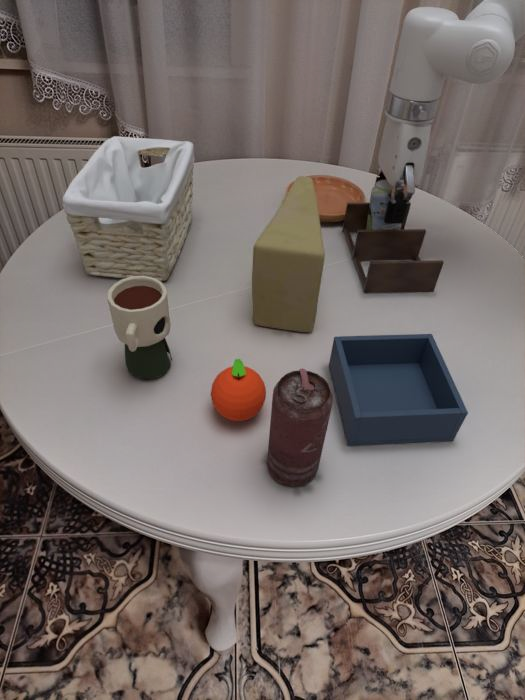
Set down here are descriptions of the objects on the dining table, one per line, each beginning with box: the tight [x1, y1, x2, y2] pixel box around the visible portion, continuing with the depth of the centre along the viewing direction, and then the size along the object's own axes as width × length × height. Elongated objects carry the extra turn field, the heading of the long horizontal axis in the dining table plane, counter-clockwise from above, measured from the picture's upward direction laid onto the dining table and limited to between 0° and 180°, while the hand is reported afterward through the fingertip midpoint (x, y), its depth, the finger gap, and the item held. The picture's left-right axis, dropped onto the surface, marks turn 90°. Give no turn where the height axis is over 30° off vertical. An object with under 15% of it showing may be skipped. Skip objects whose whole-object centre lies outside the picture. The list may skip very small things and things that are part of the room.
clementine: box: [210, 358, 267, 422], centre depth 64 cm, size 8×7×7 cm
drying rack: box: [341, 201, 445, 294], centre depth 89 cm, size 12×19×6 cm, turn 5°
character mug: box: [107, 276, 173, 379], centre depth 66 cm, size 11×7×13 cm, turn 177°
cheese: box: [251, 175, 326, 333], centre depth 80 cm, size 22×10×15 cm, turn 170°
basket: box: [62, 135, 195, 282], centre depth 87 cm, size 24×16×15 cm
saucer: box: [285, 174, 366, 224], centre depth 103 cm, size 16×16×3 cm
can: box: [266, 368, 334, 487], centre depth 56 cm, size 6×6×14 cm
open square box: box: [328, 333, 469, 447], centre depth 66 cm, size 14×14×6 cm
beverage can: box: [366, 180, 404, 230], centre depth 91 cm, size 6×7×12 cm
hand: (386, 209), depth 90 cm, fingers open, 7 cm apart
